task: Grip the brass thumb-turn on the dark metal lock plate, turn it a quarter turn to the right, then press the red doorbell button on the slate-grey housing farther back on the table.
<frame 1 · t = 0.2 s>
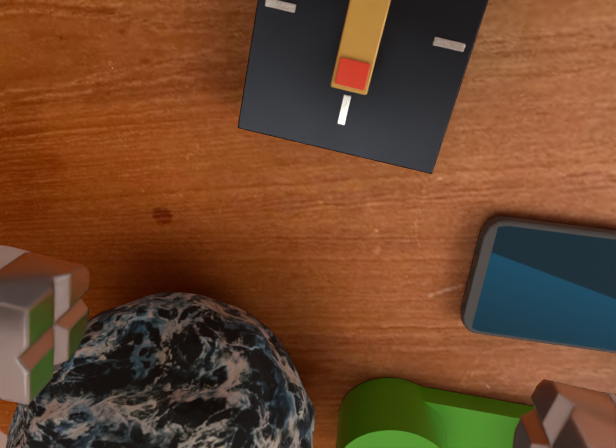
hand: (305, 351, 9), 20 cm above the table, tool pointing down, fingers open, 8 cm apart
tape dispenser: (445, 427, 35), on the table
thumb turn: (364, 25, 21), point 5 cm above the table, hinge at 0.0°
lock plate: (364, 24, 25), on the table
smartphone: (599, 286, 29), on the table
decorative stone: (210, 357, 35), on the table
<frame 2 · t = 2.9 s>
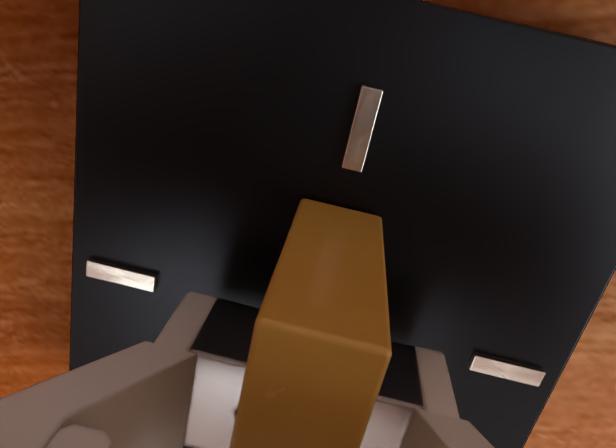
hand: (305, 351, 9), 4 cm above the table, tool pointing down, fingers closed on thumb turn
thumb turn: (299, 394, 8), point 5 cm above the table, hinge at 0.0°, touching gripper
lock plate: (324, 254, 13), on the table
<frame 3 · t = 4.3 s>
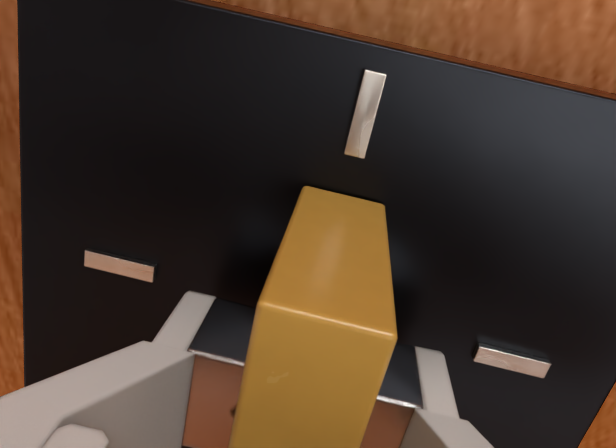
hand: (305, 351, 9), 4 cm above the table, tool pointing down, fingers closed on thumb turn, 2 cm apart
thumb turn: (301, 384, 8), point 5 cm above the table, hinge at -90.0°, touching gripper
lock plate: (326, 246, 13), on the table
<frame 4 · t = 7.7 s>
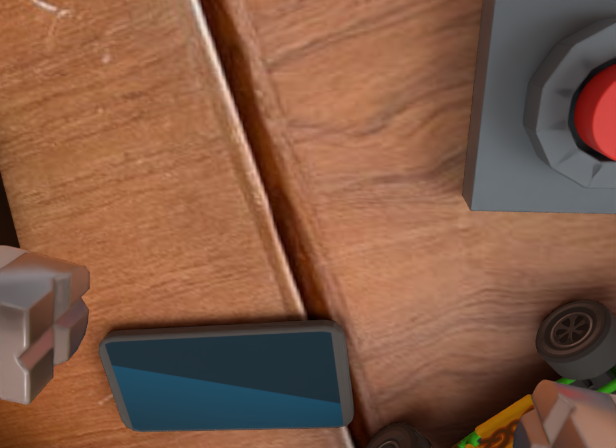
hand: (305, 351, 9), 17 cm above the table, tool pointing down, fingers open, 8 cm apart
motor vehicle: (519, 426, 31), on the table
smartphone: (230, 372, 31), on the table
bell housing: (584, 95, 23), on the table
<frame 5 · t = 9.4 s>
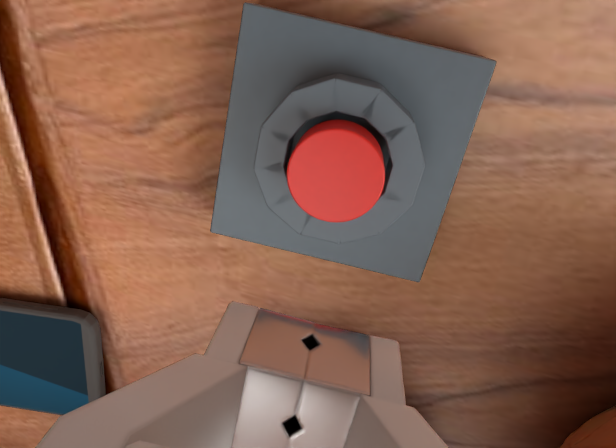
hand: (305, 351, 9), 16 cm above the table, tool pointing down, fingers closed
bell button: (336, 170, 19), point 5 cm above the table, slide at 0.2 cm
bell housing: (341, 143, 23), on the table
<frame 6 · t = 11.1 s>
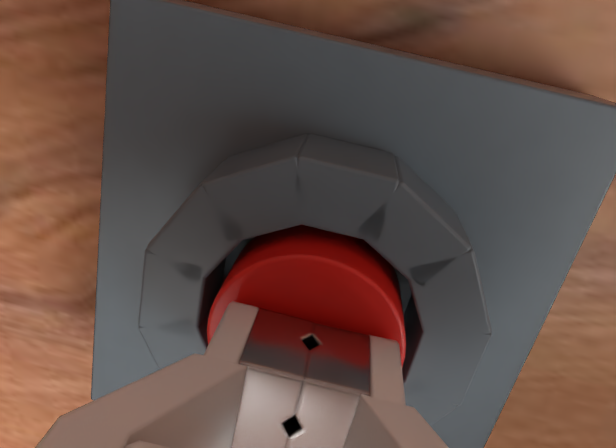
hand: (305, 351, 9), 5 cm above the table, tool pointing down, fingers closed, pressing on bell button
bell button: (309, 319, 10), point 4 cm above the table, slide at -0.8 cm, touching gripper
bell housing: (323, 242, 13), on the table
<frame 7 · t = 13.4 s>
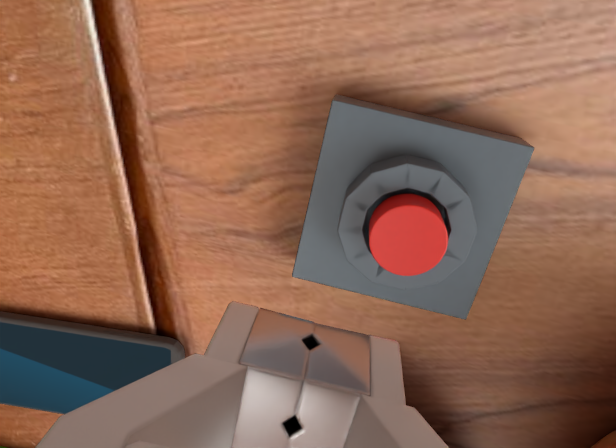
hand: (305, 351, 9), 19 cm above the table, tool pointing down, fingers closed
bell button: (406, 234, 24), point 5 cm above the table, slide at 0.1 cm
smartphone: (82, 365, 35), on the table
bell housing: (401, 203, 28), on the table
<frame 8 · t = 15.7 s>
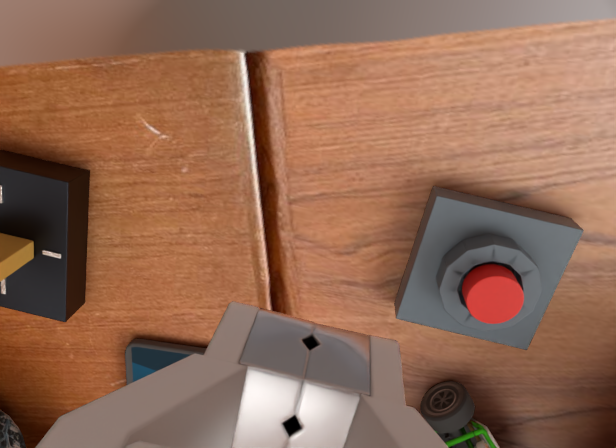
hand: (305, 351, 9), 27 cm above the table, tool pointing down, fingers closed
bell button: (492, 293, 33), point 5 cm above the table, slide at 0.1 cm
lock plate: (27, 226, 40), on the table
smartphone: (213, 381, 44), on the table
bell housing: (477, 263, 37), on the table
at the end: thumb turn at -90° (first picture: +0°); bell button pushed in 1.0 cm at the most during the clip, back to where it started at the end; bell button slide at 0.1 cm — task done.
